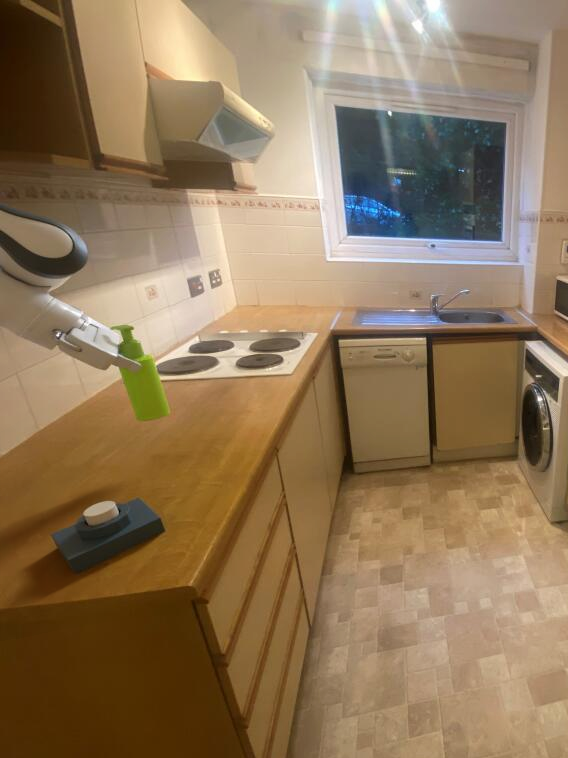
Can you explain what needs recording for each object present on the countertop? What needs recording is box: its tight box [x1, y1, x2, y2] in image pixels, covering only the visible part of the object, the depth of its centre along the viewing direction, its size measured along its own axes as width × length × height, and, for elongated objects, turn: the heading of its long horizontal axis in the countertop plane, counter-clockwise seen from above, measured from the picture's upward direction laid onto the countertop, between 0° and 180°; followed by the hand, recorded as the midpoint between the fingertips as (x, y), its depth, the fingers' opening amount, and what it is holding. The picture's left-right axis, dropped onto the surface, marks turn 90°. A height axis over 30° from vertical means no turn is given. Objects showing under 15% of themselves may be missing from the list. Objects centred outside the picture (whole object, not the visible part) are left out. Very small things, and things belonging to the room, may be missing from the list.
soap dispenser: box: [109, 324, 171, 422], centre depth 92 cm, size 6×7×20 cm
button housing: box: [50, 497, 166, 575], centre depth 74 cm, size 12×10×5 cm
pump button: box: [82, 500, 119, 526], centre depth 73 cm, size 4×4×2 cm
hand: (139, 364), depth 91 cm, fingers closed on soap dispenser, 6 cm apart
